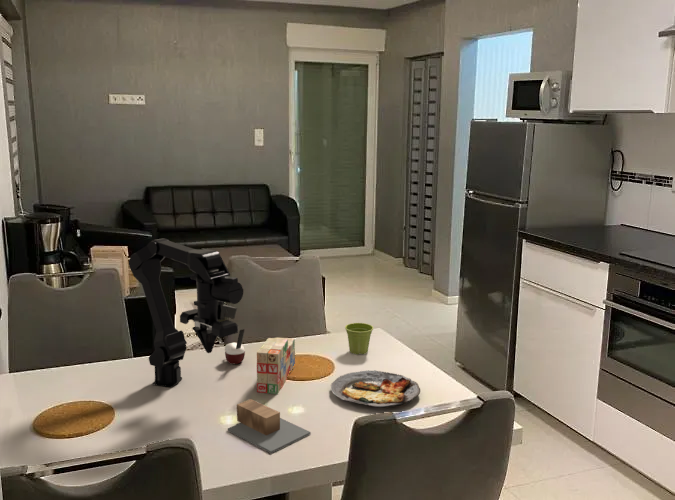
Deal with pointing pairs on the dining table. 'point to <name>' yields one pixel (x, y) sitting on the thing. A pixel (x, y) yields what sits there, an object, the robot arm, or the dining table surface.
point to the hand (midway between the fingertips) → (209, 352)
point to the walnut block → (258, 417)
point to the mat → (271, 435)
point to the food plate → (375, 388)
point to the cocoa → (235, 350)
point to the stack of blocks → (274, 364)
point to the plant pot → (358, 337)
